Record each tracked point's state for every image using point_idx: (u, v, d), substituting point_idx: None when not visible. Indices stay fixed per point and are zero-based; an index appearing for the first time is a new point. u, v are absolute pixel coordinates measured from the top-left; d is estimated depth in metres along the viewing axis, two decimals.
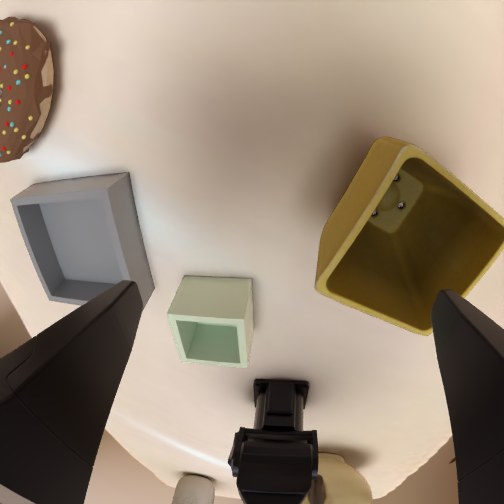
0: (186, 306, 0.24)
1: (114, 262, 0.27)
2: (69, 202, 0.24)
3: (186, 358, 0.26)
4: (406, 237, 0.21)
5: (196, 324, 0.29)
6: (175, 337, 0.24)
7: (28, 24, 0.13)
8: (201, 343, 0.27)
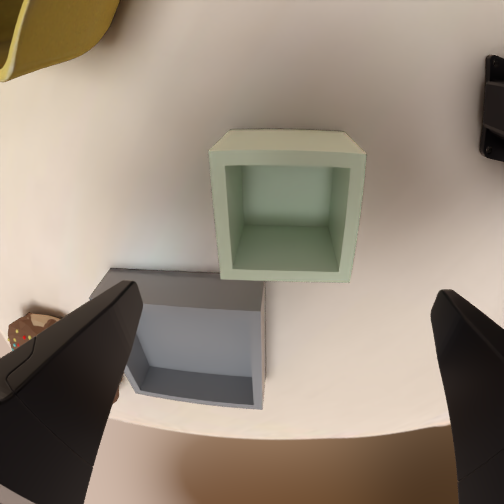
0: None
1: None
2: (151, 337, 0.24)
3: (338, 271, 0.14)
4: None
5: (324, 229, 0.17)
6: (278, 278, 0.14)
7: (9, 327, 0.23)
8: (335, 232, 0.15)
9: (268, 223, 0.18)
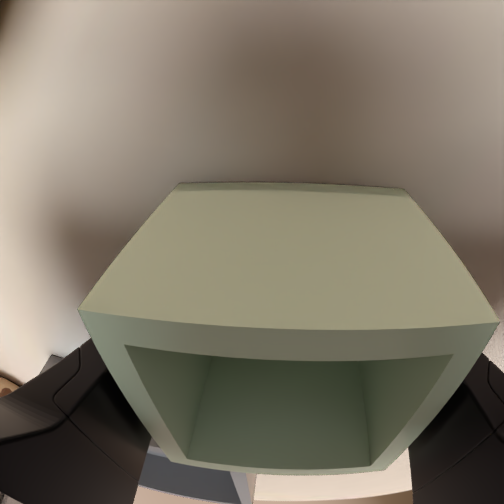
0: None
1: None
2: None
3: (370, 464, 0.06)
4: None
5: None
6: (266, 472, 0.07)
7: None
8: (372, 390, 0.07)
9: None
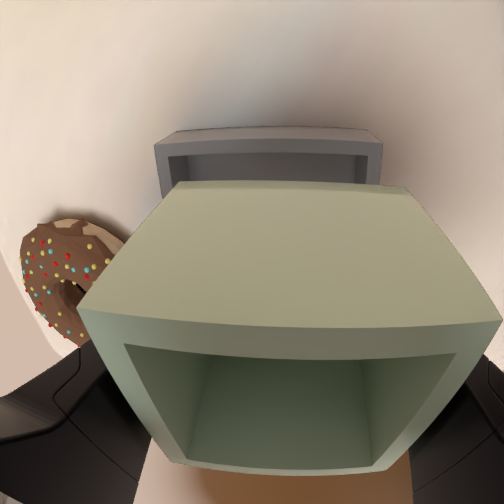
0: None
1: (314, 181, 0.18)
2: None
3: (371, 465, 0.06)
4: None
5: None
6: (267, 473, 0.07)
7: (23, 240, 0.20)
8: (374, 390, 0.07)
9: None
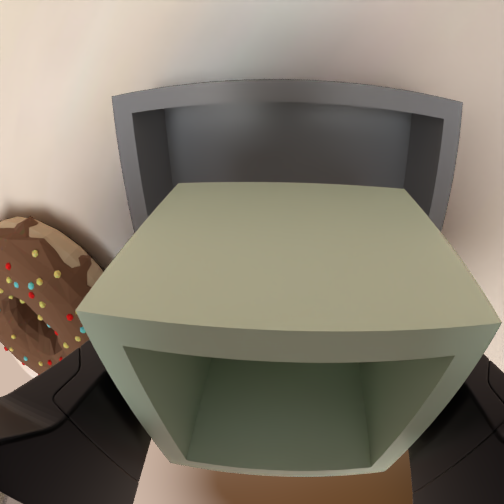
0: None
1: (351, 160, 0.12)
2: None
3: (370, 466, 0.06)
4: None
5: None
6: (266, 474, 0.07)
7: None
8: (373, 391, 0.07)
9: None
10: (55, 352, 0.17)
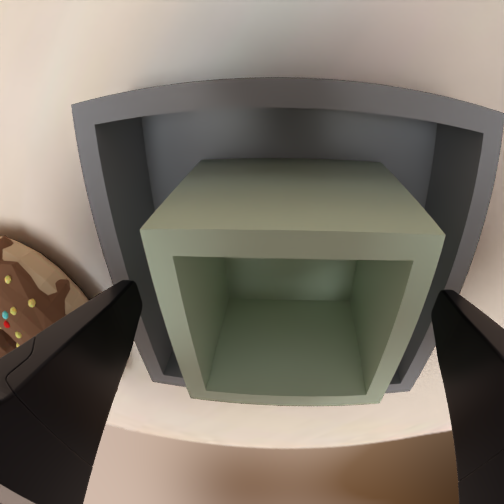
0: None
1: None
2: None
3: (365, 394, 0.08)
4: None
5: (344, 305, 0.12)
6: (275, 403, 0.09)
7: None
8: (364, 328, 0.09)
9: (263, 297, 0.12)
10: None
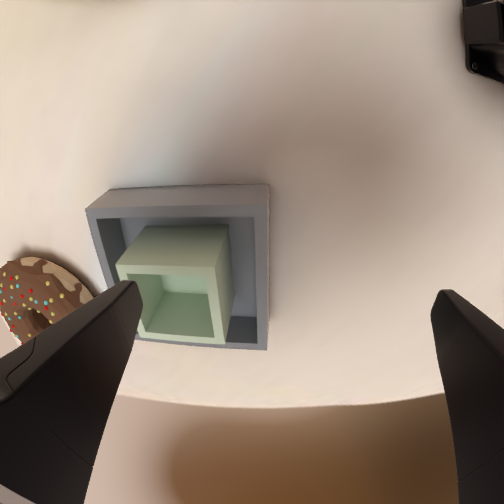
0: None
1: None
2: None
3: (214, 337, 0.19)
4: None
5: None
6: (175, 339, 0.20)
7: None
8: None
9: (180, 291, 0.23)
10: None
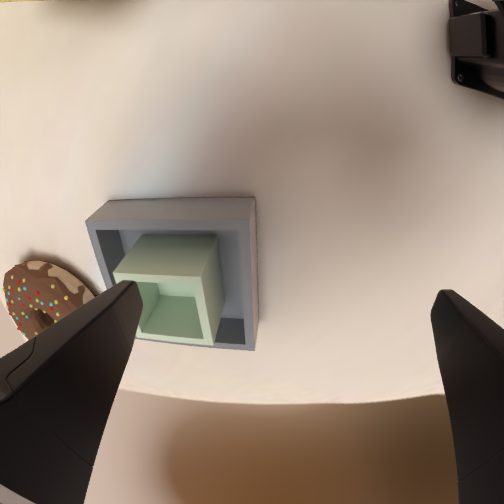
0: None
1: None
2: None
3: (204, 338, 0.21)
4: None
5: None
6: (168, 339, 0.21)
7: (5, 275, 0.24)
8: None
9: (175, 295, 0.25)
10: None
